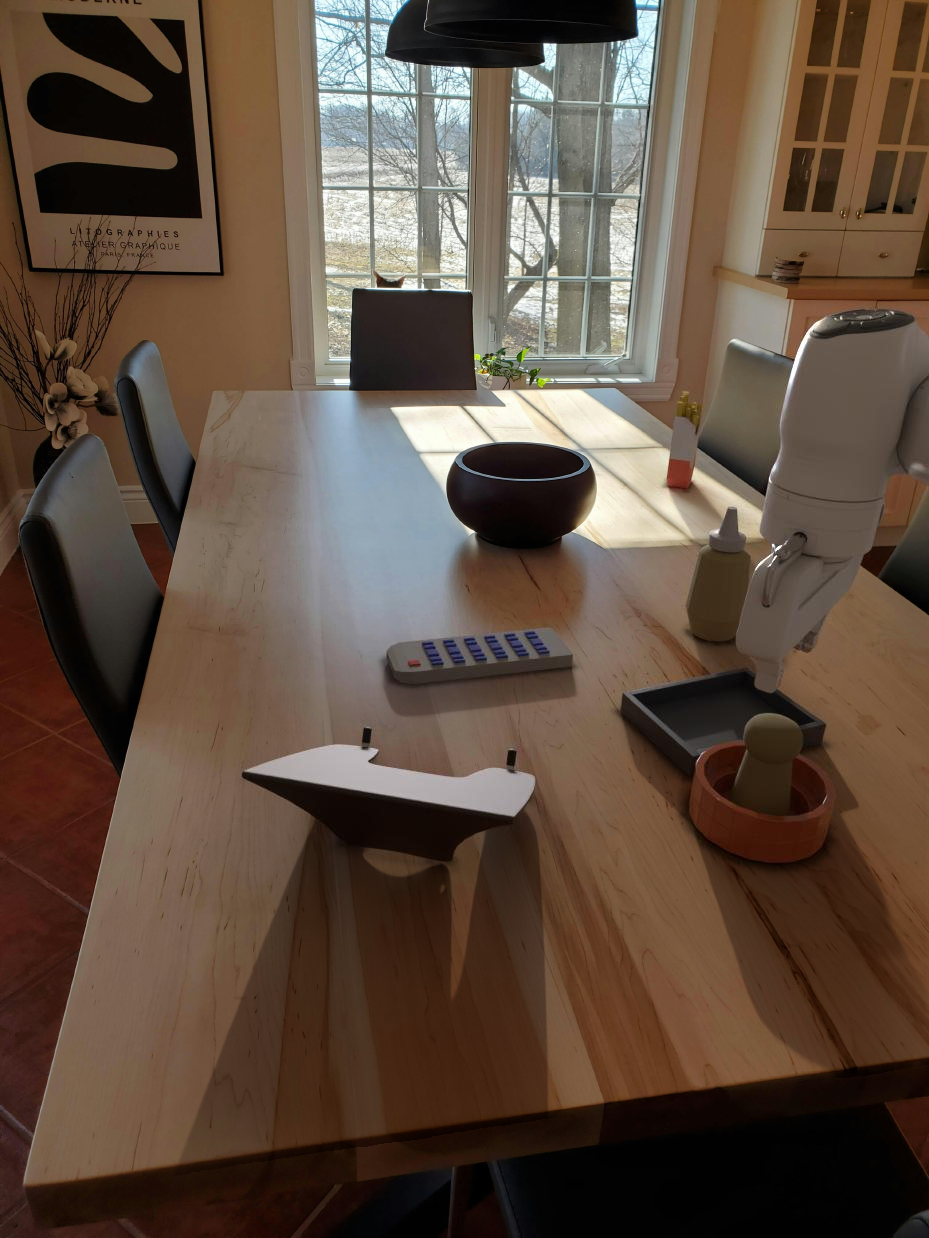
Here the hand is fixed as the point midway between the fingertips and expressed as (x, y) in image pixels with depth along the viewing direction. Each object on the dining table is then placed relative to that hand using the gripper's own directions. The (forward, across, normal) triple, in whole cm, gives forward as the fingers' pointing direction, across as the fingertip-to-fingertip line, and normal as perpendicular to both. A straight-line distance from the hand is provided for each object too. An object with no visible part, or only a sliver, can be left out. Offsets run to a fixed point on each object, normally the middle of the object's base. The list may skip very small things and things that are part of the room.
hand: (785, 667), depth 79 cm
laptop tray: (+18, -21, +26) cm, 37 cm away
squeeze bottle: (+17, +36, +20) cm, 44 cm away
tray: (+17, +14, +9) cm, 24 cm away
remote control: (+18, +9, +40) cm, 44 cm away
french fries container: (+17, +96, +53) cm, 111 cm away
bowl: (+17, 0, 0) cm, 17 cm away
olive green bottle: (+17, 0, 0) cm, 17 cm away
